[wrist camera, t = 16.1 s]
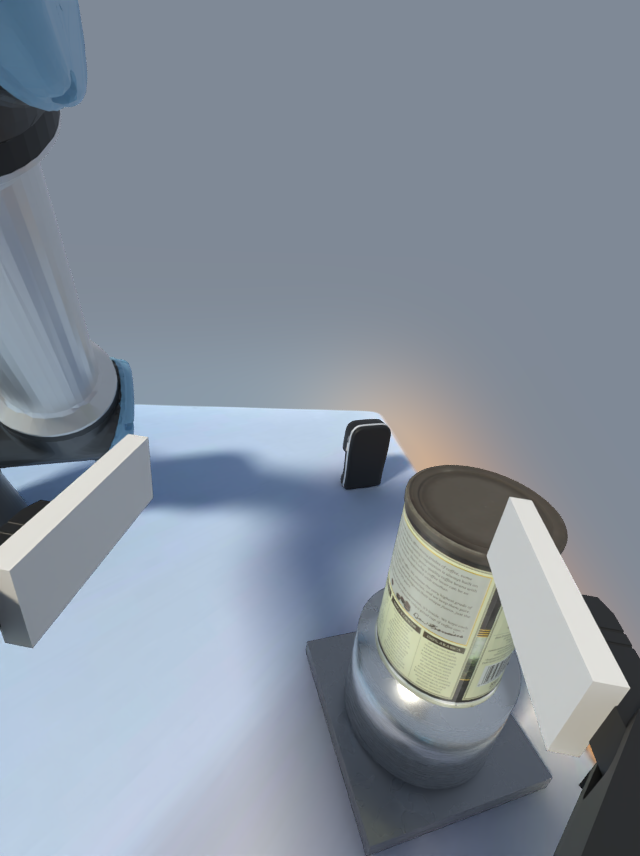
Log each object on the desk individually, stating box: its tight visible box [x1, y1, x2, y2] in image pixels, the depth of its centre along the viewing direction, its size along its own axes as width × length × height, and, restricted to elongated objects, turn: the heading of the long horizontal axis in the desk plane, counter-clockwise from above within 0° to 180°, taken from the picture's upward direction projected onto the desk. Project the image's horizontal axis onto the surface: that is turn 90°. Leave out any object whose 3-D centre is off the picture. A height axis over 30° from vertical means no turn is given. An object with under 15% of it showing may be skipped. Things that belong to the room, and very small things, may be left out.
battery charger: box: [341, 419, 391, 489], centre depth 70 cm, size 7×4×11 cm, turn 111°
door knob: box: [306, 588, 552, 856], centre depth 37 cm, size 16×16×10 cm
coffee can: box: [375, 465, 568, 708], centre depth 32 cm, size 10×10×14 cm
